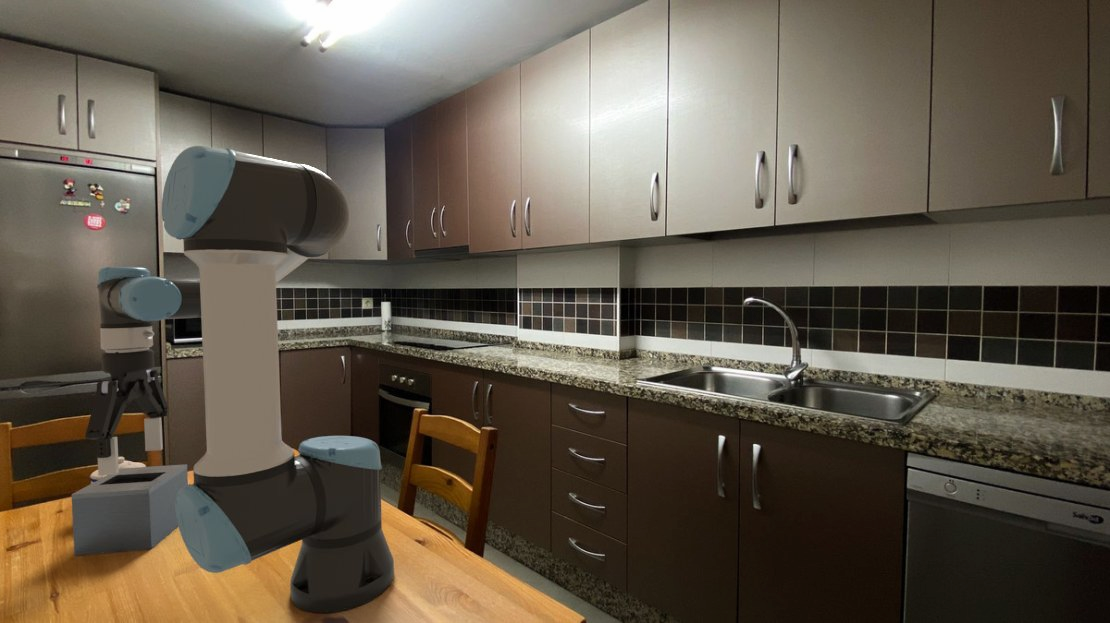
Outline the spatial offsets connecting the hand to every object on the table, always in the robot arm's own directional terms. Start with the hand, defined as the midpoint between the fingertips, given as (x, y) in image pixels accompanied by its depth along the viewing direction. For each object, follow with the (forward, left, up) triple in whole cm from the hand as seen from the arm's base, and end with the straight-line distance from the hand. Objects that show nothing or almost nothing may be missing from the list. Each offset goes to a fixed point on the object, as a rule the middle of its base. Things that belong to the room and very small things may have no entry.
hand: (133, 461), depth 96 cm
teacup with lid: (+13, +11, -14) cm, 22 cm away
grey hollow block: (0, 0, -14) cm, 14 cm away
